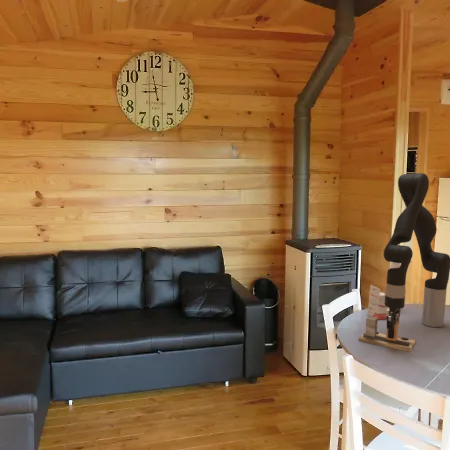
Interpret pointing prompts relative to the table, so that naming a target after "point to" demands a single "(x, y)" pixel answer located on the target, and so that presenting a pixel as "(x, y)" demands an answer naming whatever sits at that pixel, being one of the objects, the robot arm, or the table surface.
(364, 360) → the table surface
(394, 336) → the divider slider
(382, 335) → the pitch plate
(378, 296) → the ink cartridge box
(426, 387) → the table surface
